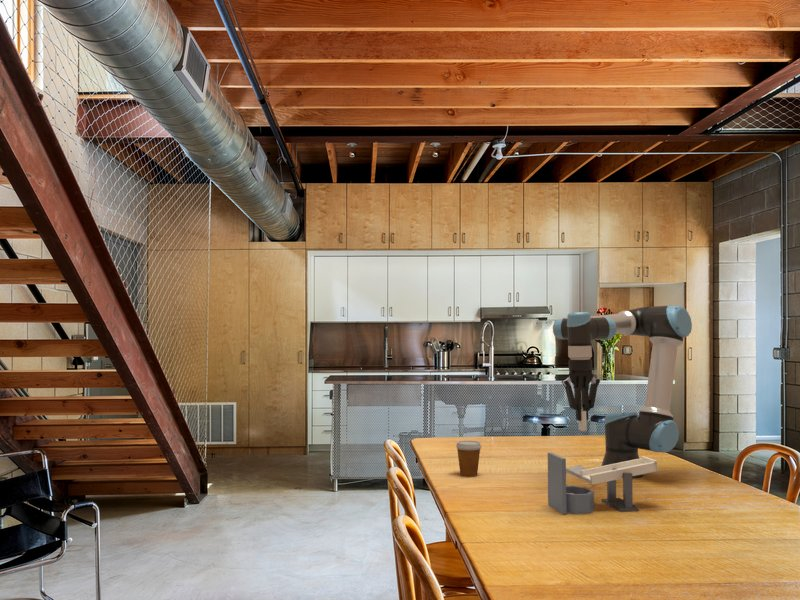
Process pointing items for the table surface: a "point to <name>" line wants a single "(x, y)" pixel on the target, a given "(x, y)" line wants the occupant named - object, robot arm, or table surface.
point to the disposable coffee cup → (468, 457)
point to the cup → (566, 490)
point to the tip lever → (614, 470)
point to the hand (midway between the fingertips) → (582, 430)
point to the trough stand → (627, 500)
